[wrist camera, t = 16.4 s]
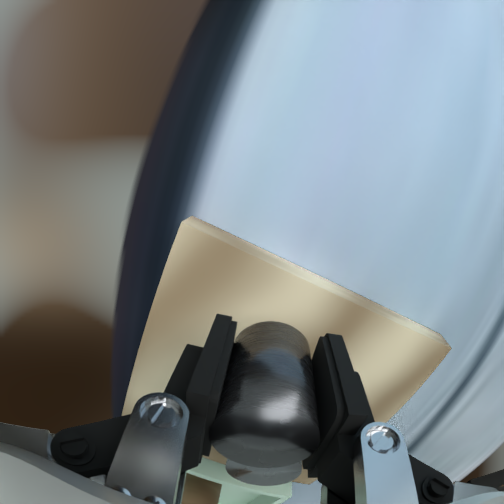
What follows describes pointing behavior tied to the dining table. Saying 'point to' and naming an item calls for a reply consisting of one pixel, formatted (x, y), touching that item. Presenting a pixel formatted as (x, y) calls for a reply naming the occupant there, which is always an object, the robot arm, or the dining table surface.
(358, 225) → the dining table surface
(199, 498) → the peg
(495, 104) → the dining table surface
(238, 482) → the tray
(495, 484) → the coral
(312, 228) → the dining table surface
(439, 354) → the plate
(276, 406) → the crank
